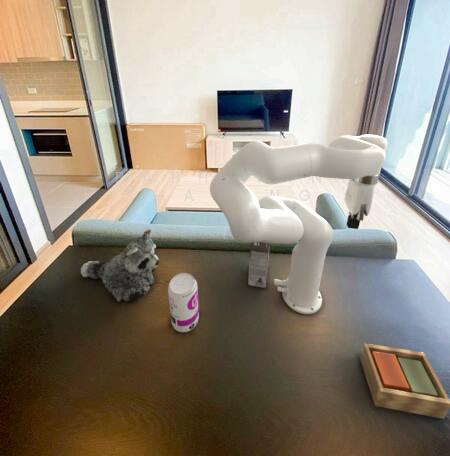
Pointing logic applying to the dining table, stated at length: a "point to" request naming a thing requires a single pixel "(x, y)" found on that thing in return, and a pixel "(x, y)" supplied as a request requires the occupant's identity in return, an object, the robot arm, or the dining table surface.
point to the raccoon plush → (127, 269)
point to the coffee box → (258, 264)
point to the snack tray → (403, 381)
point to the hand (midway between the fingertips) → (352, 226)
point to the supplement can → (183, 302)
